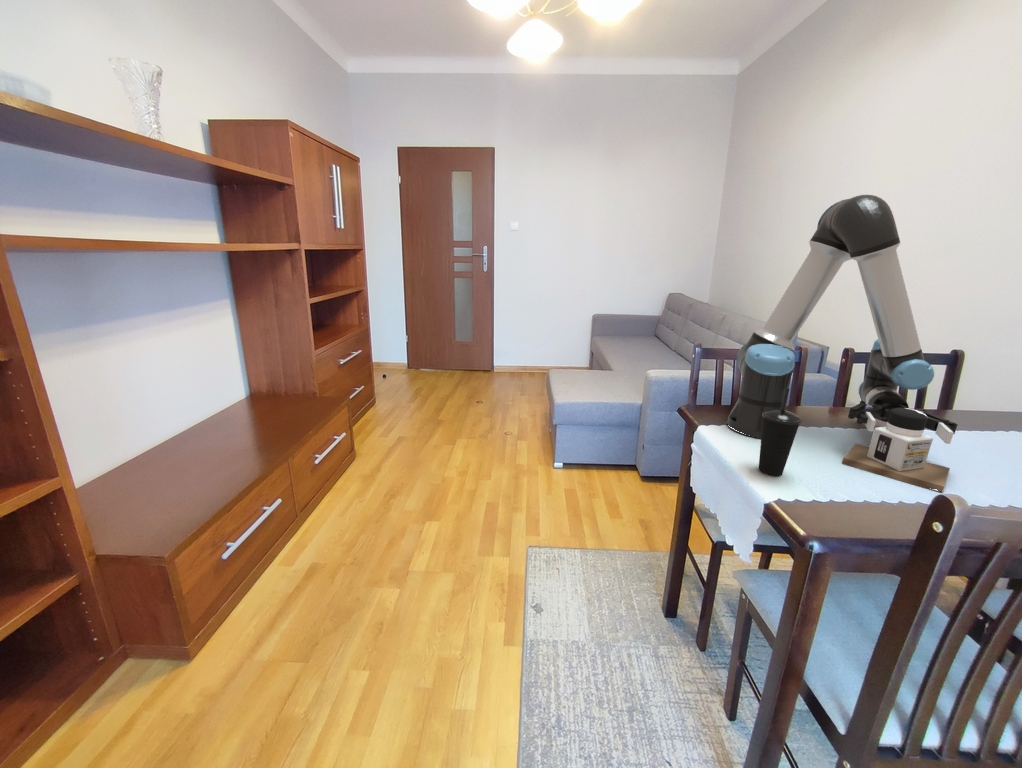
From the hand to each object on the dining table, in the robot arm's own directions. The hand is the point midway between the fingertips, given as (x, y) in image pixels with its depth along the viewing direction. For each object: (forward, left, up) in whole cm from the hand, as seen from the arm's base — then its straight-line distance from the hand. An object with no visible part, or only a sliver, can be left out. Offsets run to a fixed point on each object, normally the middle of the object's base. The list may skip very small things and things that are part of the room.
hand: (910, 431), depth 102 cm
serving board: (-1, +3, -10) cm, 11 cm away
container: (-1, +3, -9) cm, 10 cm away
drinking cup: (-20, -21, -11) cm, 31 cm away
